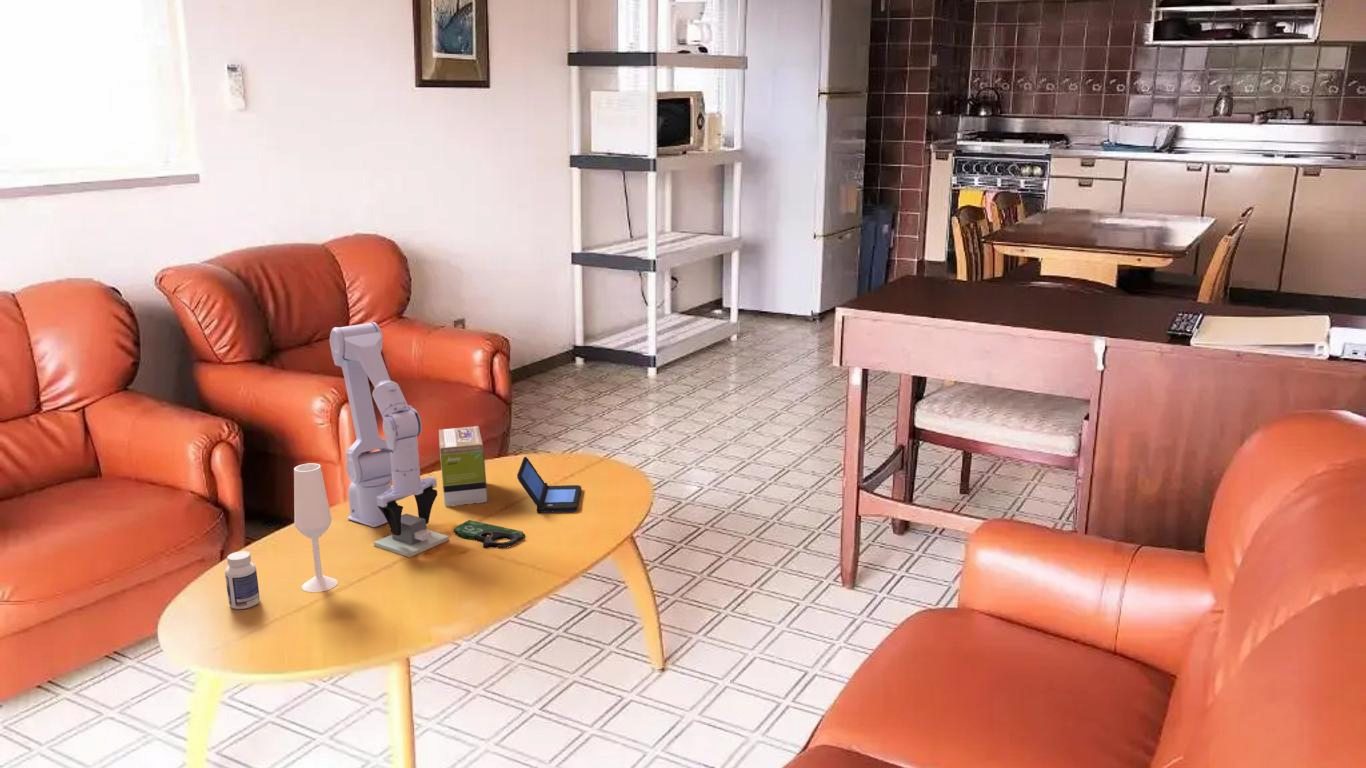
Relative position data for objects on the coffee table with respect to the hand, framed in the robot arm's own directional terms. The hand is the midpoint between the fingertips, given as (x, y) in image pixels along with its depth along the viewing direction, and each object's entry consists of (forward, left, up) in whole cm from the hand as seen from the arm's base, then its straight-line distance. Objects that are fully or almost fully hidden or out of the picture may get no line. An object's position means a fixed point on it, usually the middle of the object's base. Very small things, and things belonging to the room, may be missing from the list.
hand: (410, 528), depth 229 cm
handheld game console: (+8, +35, -4) cm, 36 cm away
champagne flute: (+1, -24, -3) cm, 24 cm away
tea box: (-12, +27, -3) cm, 30 cm away
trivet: (0, 0, -3) cm, 3 cm away
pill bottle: (-4, -37, -3) cm, 37 cm away
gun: (+11, +11, -4) cm, 16 cm away
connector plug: (+1, 0, -2) cm, 3 cm away
